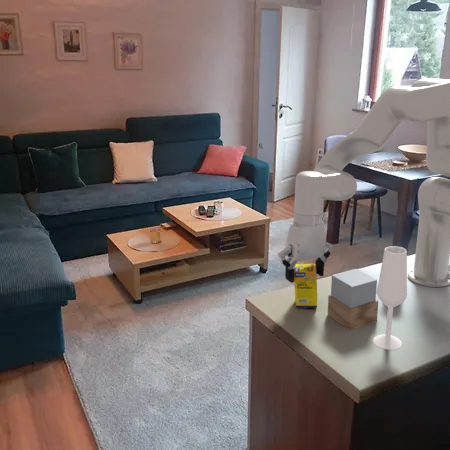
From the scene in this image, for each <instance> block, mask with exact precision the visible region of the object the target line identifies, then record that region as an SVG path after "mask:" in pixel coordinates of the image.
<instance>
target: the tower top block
mask: <svg viewBox="0 0 450 450" xmlns="http://www.w3.org/2000/svg"><path fill="white" fill-rule="evenodd" d="M330 286H331V287H330V289H331V290H330V295H331V296H332V297H334V298H335V299H337V300H339V301H340V302H342V303H343V304H345V305H346V306H348V307H349V308H354V307H357V306H361V305H364V304H367V303H370V302H374V301H376V300H377V299H376V298H377V288H378V279H376V278H374V277H372V276H371V275H368V274H367V273H365V272H363V271H361V270H359V269H357V268H353V269H350V270H346V271H343V272H338V273H334V274H331V285H330Z"/></svg>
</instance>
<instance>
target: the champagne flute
mask: <svg viewBox="0 0 450 450" xmlns="http://www.w3.org/2000/svg"><path fill="white" fill-rule="evenodd" d="M407 253H408V251H407V249H406V248H404V247H402V246H397V245H394V246H393V245H391V246H386V247H385V248H384V249H383V257H382V261H381V266H380V271H379V272H380V273H379V277H378V281H377V288H376V296H377V297H378V299H379V300H380V301H381V302H382V303H383V304H384V306H386V307H387V312H386V313H387V315H386V323H385V324H386V325H385V333H383V334H378V335H376V336H374V337H373V339H372V342H373V344H374V345H375V346H377V347H378V348H380V349H385V350H389V351H390V350H391V351H392V350H398V349H400V348H401V347H402V345H403V342H402V341H401V340H400V338H398V337H397V336H394V335H392V324H393V313H394V308H396V307H397V306H400V305H401V304H402V303H404V301H406V299H407V297H408V263H407V262H408V254H407Z"/></svg>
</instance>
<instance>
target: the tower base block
mask: <svg viewBox="0 0 450 450" xmlns="http://www.w3.org/2000/svg"><path fill="white" fill-rule="evenodd" d="M327 297H328V298H327V299H328V300H327V301H328V302H327V303H328V304H327V315H328V316H329V317H330V318H332V319H333V320H335V321H336V322H338V323H339V324H341V325H342V326H343V327H345V328H346V329H347V330H349V331H350V330H354V329H357V328H361V327H362V326H366V325H369V324H372V322H373V323H375V321H376V322H377V321H378V311H379V300H377V299H376V301H374V302H370V303H367V304H364V305H361V306H357V307H354V308H349V307H348V306H346V305H345V304H343V303H342V302H340V301H339V300H337V299H335V298H334V297H332V296H331V294H328V296H327Z"/></svg>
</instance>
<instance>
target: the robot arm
mask: <svg viewBox="0 0 450 450" xmlns="http://www.w3.org/2000/svg"><path fill="white" fill-rule="evenodd" d="M402 122H407V123H412V124H413V123H414V124H417V123H424V122H426V124H427V136H426V137H427V138H426V153H425V164H426V165H425V166H426V167H427V169H428V170H429V171H431V172H432V173H434V174H436V175H437V174H438V175H441V176H445V177H441V176H431V177H429V178H426V179H425V180H424V181H423V182H421V184H420V186H419V188H418V192H417V202H418V209H419V211H418V212H419V213H418V214H419V215H418V226H417V227H418V228H417V237H416V238H417V239H416V246H415V247H416V248H415V257H414V265H413V268H411V269H409V270H408V271H407V278H408V279H409V280H410V281H412V282H413V283H415V284H418V285H421V286H426V287H430V288H431V287H432V288H442V287H447V286H449V285H450V179H448V178H450V79H446V78H444V79H443V78H432V77H431V78H430V77H429V78H427V77H426V78H420V79H418V80H416V81H414V82H412V83H411V85H410V86H402V85H401V86H400V85H398V86H397V85H396V86H391V87H387V88H386V89H385V90H384V91H382V93H381V94H380V95H379V96H378V98H377V100H376V101H375V103H374V104H373V105H372V106H371V108H369V110H368V111H367V113H366V114H365V116H364V117H363V119H362V120H361V121H360V123H359V124H358V125H357V127H356V128H355V129H354V130H353V131H352V132H350V133H349V134H347V135H345V137H343V138H342V139H340V140H339V141H337V142H336V143H335V144H333V145H332V146H331V147H330V148H329V149H328V150H327V151H326V152H325V153H324V154H323V156H322V157H321V159H320V160H319V161H318V163H317V164H316V166H315V167H314V169H313V170H305V171H304V170H303V171H300V172H298V173H297V174H296V176H295V187H294V206H293V222H290V226H289V228H288V232H287V237H286V246H285V248H284V249H282V250H281V251H280V252H278V253H277V257H278V259H279V261H280V263H281V264H282V265H283V266H284V267H285V273H284V278H285V279H286V280H287V281H288V282H289V283H291V284H292V283H294V273H295V270H294V269H295V264H298V262H299V263H300V262H304V261H310V260H313V259H315V263H314V264H316V275H318V276H320V277H324V275H325V274H324V272H325V263H326V262H327V260H328V257H330V256H331V252H332V251H333V248H334V245H333V244H332V243H330V242H328V241H326V229H325V223H324V221H323V218H324V217H326V212H325V211H324V203H325V202H324V201H327V200H328V201H338V202H339V201H346V200H349V199H351V198H353V196H354V195H355V193H356V192H357V189H358V182H357V181H356V178H355V177H354V176H353V175H352V174H351V173H348V172H346V171H344V168H345V167H346V166H347V165H349V163H351V162H352V161H354V160H356V159H357V158H360V157H362V156H365V155H370V154H372V153H376V152H379V151H380V150H382V149H383V147H384V146H385V145H386V143H387V142H388V141H389V139H390V138H391V137H392V135H393V134H394V133H395V131H396V130H397V128H398V127H399V126H400V125H401V123H402ZM446 177H447V178H446ZM286 257H287V259H286Z"/></svg>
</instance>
